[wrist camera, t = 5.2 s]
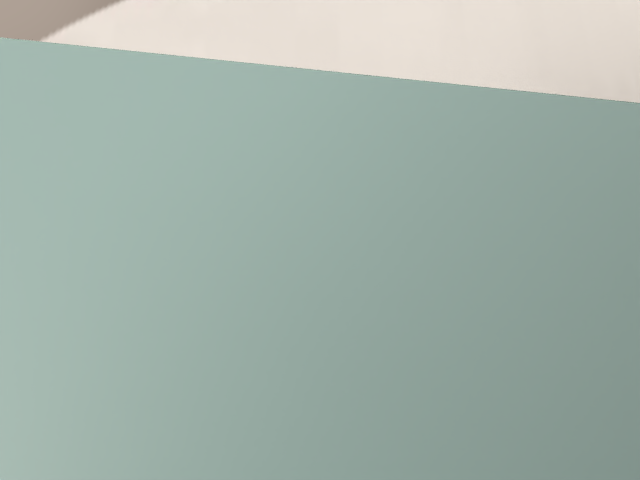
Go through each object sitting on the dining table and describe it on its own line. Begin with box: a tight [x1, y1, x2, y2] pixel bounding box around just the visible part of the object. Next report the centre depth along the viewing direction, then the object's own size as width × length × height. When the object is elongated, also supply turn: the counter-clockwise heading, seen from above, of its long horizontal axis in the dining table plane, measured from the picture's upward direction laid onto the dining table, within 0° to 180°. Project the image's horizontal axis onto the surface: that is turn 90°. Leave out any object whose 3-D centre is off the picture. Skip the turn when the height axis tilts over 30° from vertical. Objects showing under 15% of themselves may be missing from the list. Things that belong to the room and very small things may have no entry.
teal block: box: [0, 38, 640, 480], centre depth 9 cm, size 5×5×13 cm
